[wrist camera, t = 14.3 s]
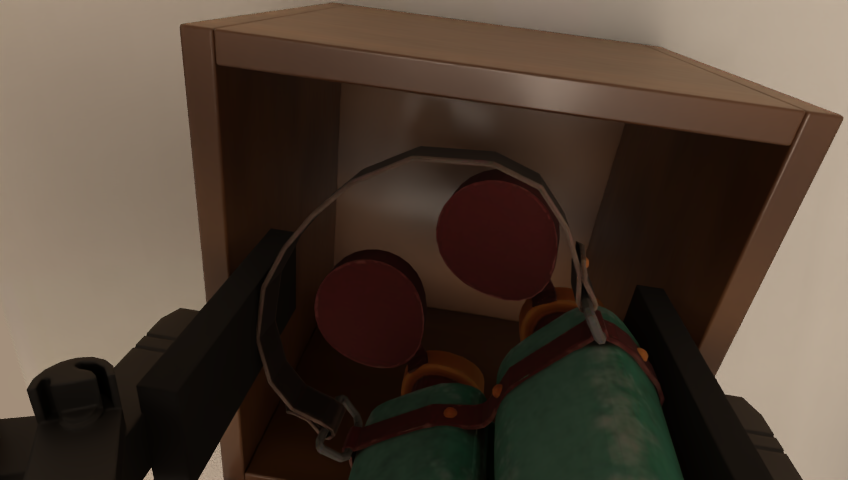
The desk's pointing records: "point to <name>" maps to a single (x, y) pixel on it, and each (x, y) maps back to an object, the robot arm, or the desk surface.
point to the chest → (436, 182)
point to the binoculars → (461, 379)
